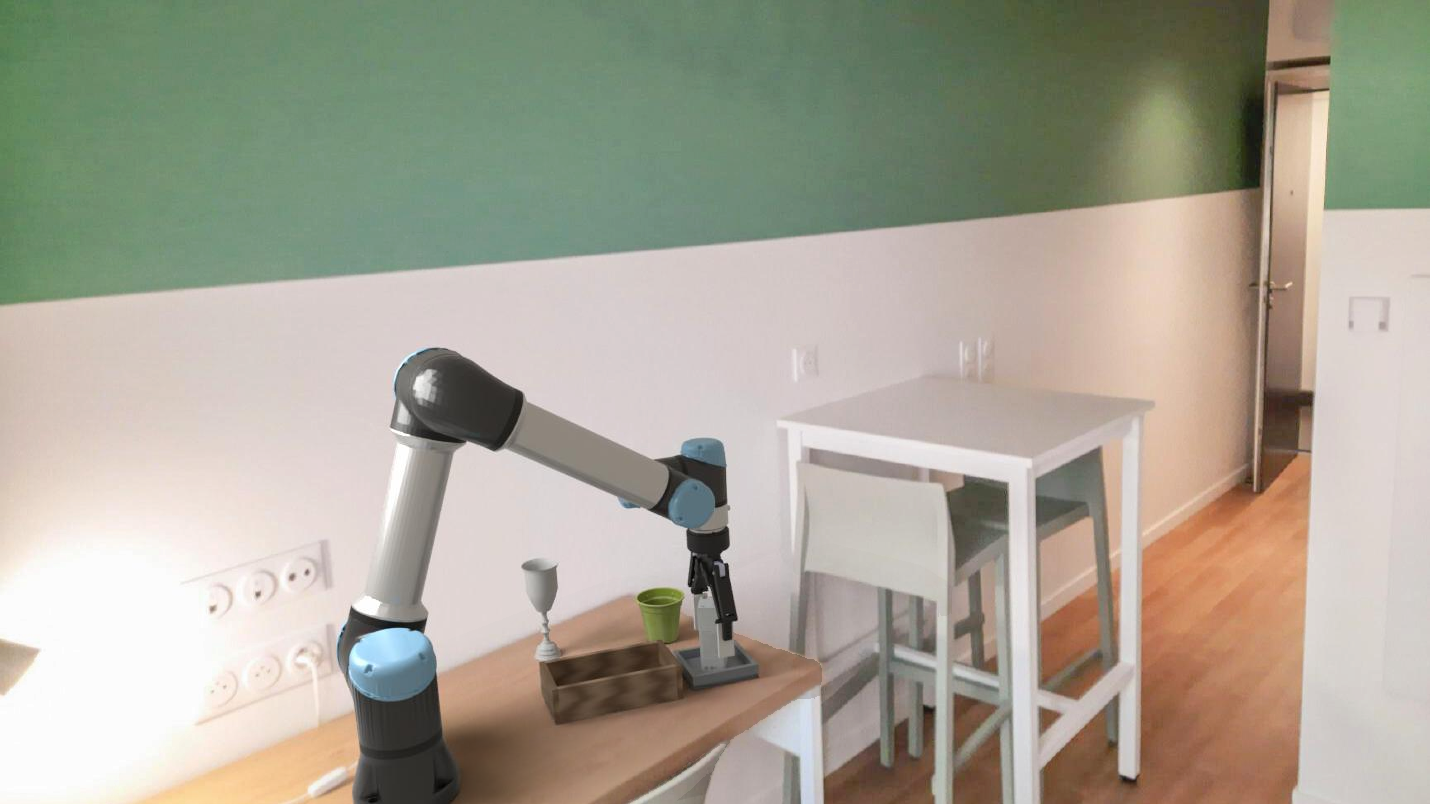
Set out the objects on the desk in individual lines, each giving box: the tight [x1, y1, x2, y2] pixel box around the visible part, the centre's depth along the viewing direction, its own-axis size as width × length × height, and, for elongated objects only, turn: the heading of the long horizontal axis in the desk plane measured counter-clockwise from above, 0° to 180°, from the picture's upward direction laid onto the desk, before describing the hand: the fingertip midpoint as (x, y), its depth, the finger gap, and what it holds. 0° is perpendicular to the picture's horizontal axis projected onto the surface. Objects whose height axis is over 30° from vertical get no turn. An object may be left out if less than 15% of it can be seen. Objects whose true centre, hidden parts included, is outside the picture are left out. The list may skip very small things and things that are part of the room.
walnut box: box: [538, 639, 684, 725], centre depth 185 cm, size 22×12×6 cm, turn 109°
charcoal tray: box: [672, 639, 760, 692], centre depth 193 cm, size 12×12×2 cm
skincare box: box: [697, 595, 728, 673], centre depth 193 cm, size 6×4×12 cm
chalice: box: [520, 557, 562, 662], centre depth 202 cm, size 7×7×18 cm
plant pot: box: [635, 586, 686, 644], centre depth 208 cm, size 9×9×9 cm
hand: (713, 641), depth 193 cm, fingers open, 13 cm apart
